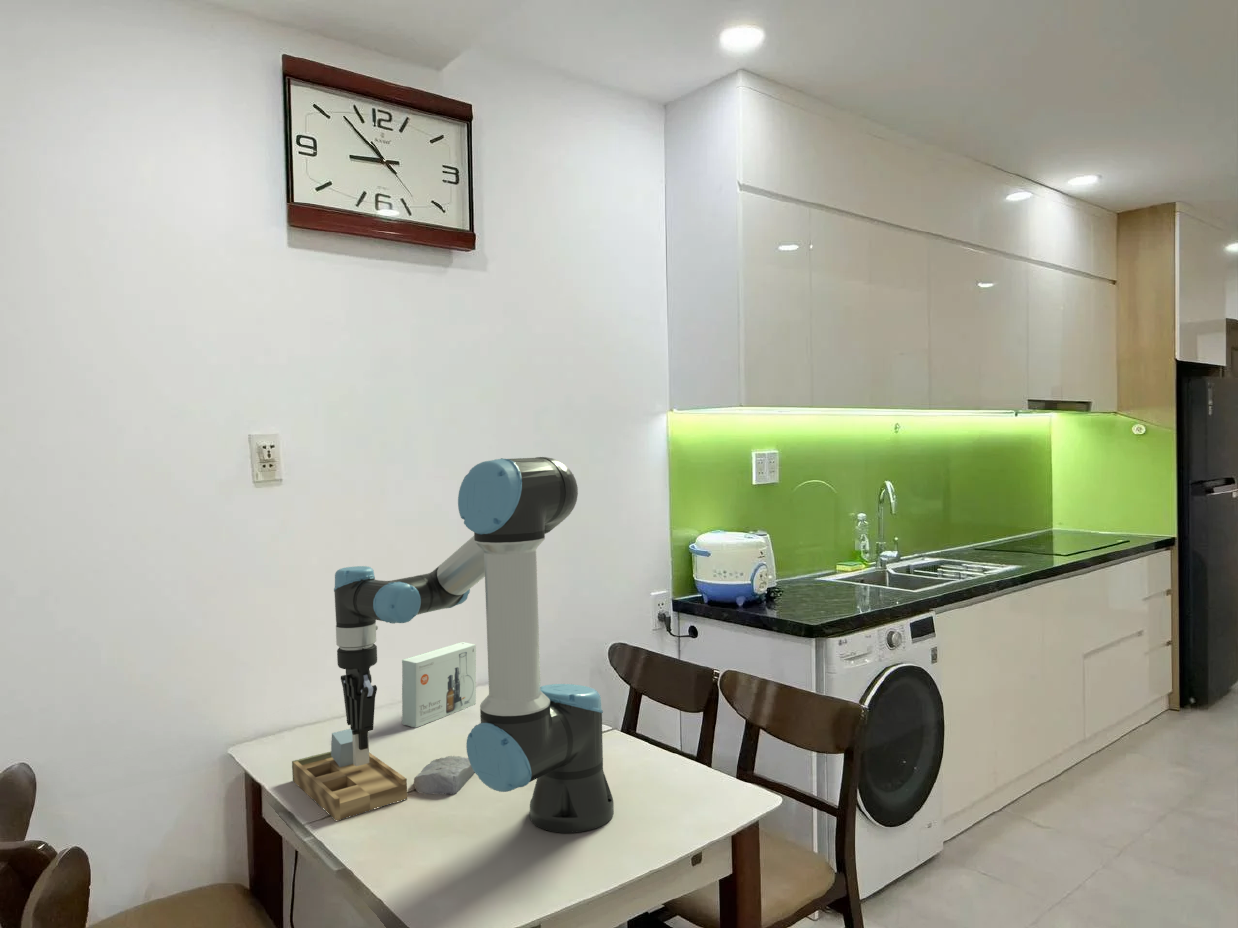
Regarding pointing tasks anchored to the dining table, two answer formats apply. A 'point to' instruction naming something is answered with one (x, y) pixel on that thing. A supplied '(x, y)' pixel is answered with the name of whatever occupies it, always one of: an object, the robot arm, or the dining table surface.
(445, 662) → the skincare box
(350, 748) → the block
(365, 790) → the trap box
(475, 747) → the robot arm
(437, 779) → the stone block
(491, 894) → the dining table surface
